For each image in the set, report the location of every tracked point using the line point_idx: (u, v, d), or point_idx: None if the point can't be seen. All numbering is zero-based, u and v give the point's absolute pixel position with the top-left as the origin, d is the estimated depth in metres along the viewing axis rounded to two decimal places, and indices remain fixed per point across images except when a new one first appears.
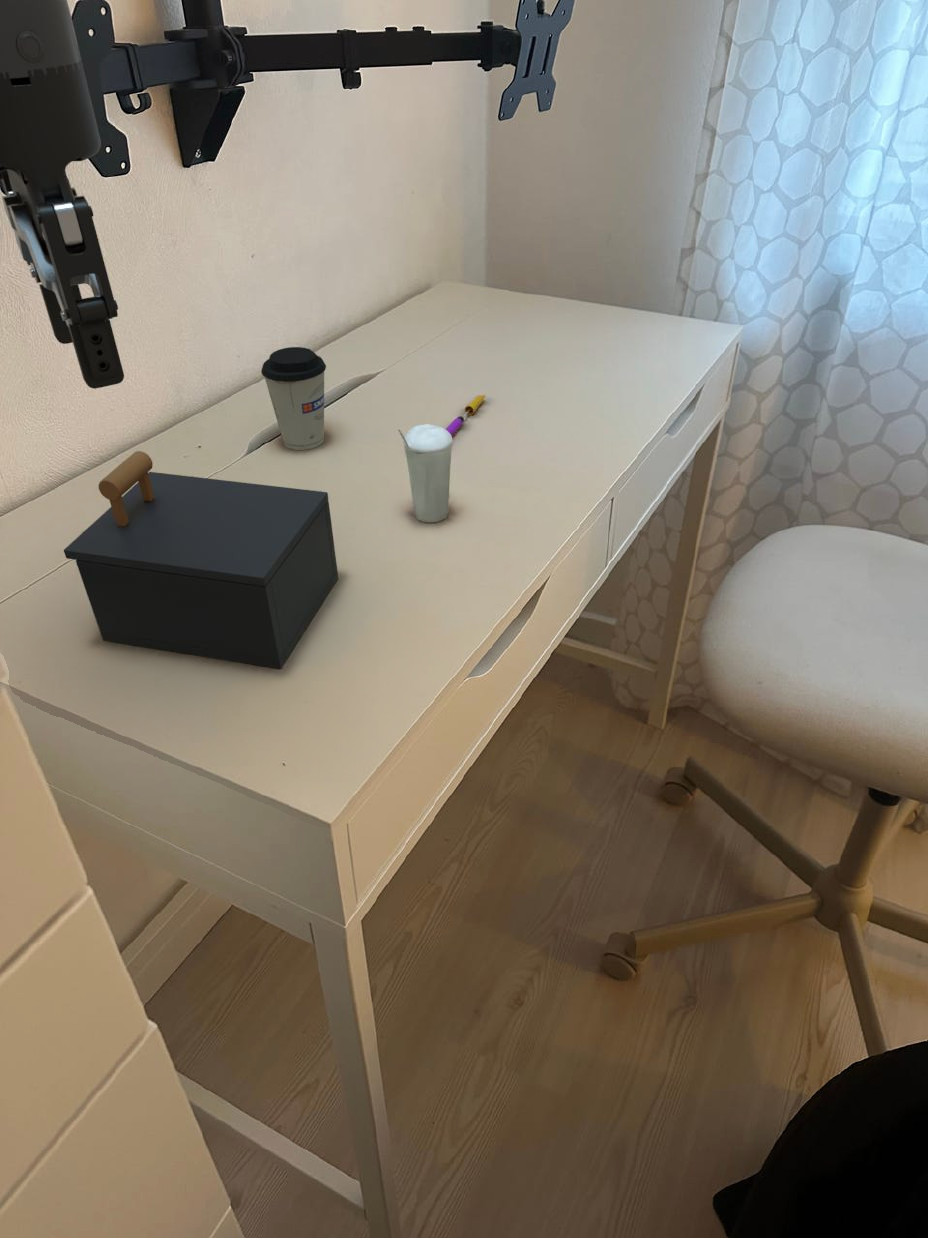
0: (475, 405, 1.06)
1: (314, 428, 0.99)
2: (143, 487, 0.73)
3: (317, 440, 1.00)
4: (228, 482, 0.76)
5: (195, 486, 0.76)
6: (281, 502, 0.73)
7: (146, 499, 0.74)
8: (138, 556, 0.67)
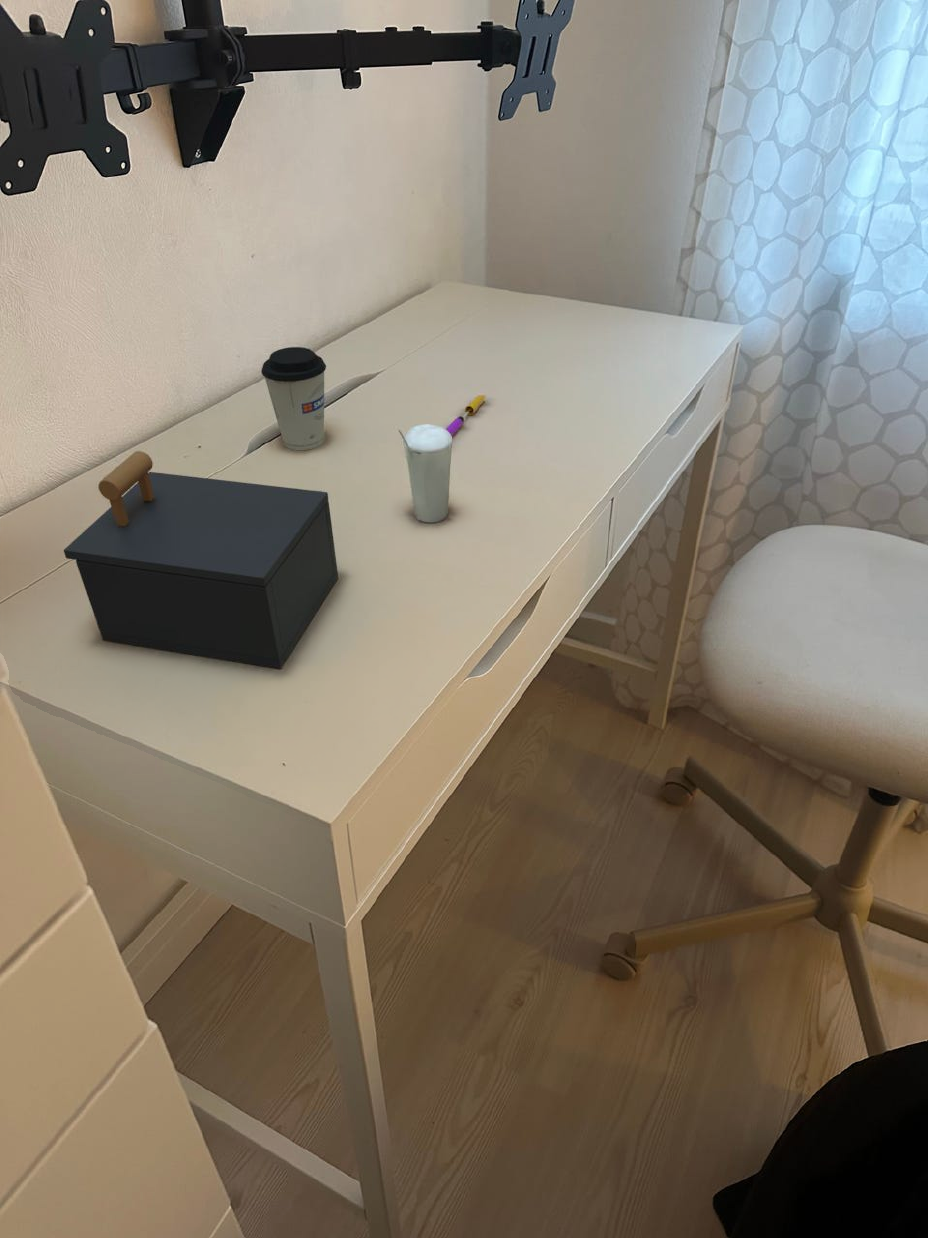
0: (475, 405, 1.06)
1: (314, 428, 0.99)
2: (143, 487, 0.73)
3: (317, 440, 1.00)
4: (228, 482, 0.76)
5: (195, 486, 0.76)
6: (281, 502, 0.73)
7: (146, 499, 0.74)
8: (138, 556, 0.67)
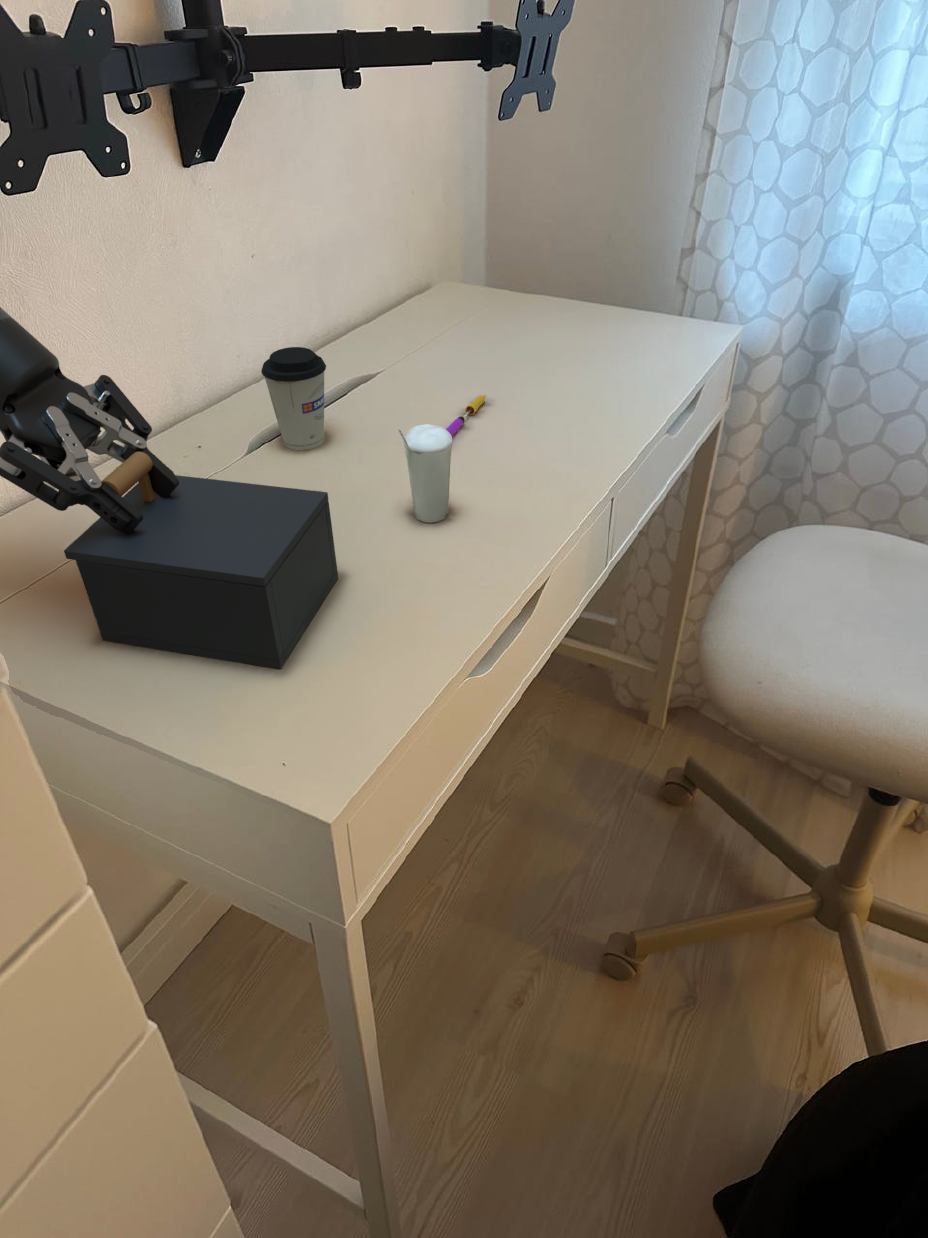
0: (476, 405, 1.06)
1: (314, 428, 0.99)
2: (143, 487, 0.73)
3: (317, 440, 1.00)
4: (228, 482, 0.76)
5: (195, 486, 0.76)
6: (281, 502, 0.73)
7: (146, 499, 0.74)
8: (138, 556, 0.67)
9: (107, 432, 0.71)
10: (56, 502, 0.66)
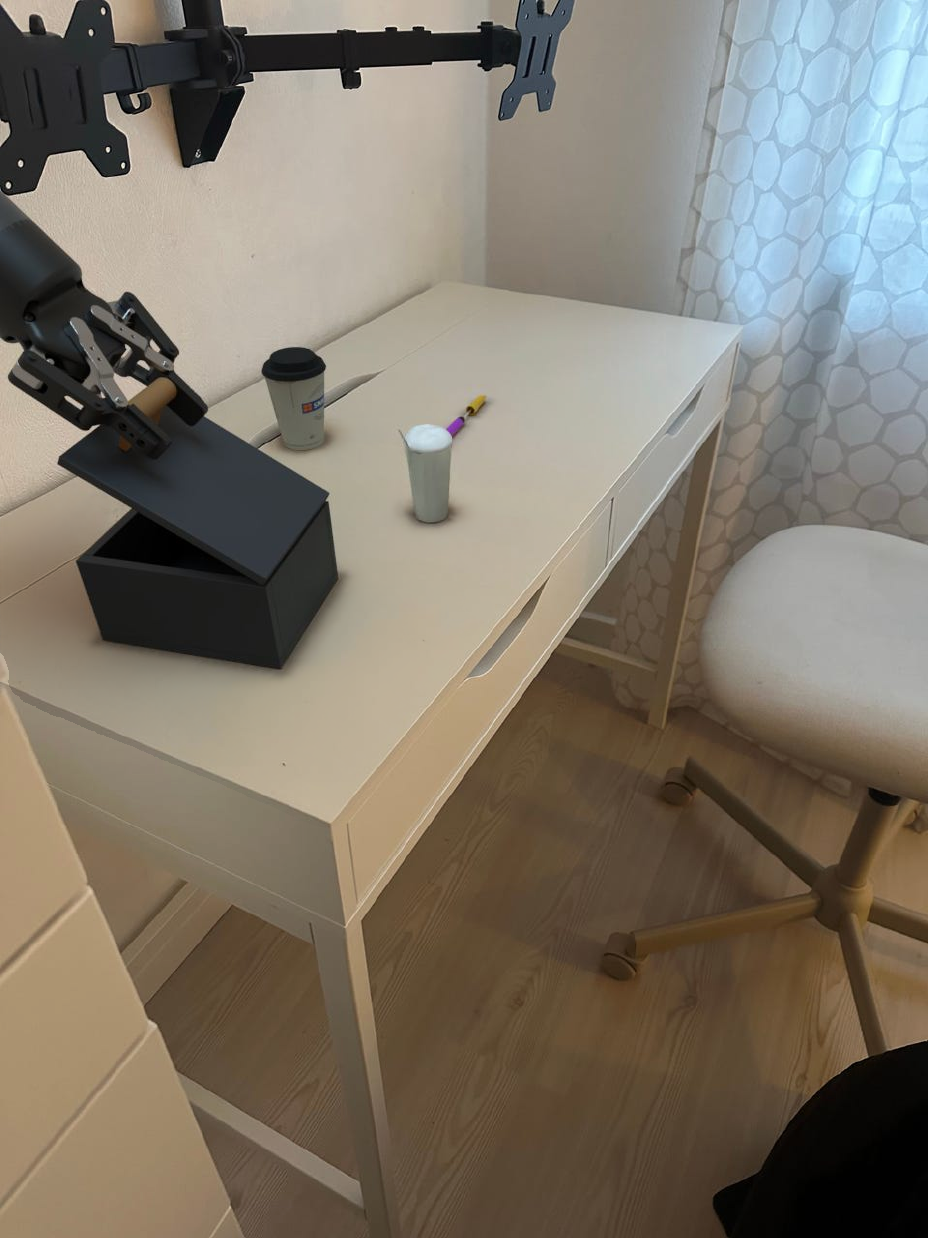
0: (476, 405, 1.06)
1: (314, 428, 0.99)
2: None
3: (317, 440, 1.00)
4: (234, 436, 0.73)
5: (200, 427, 0.72)
6: (285, 487, 0.72)
7: None
8: (141, 499, 0.64)
9: (133, 351, 0.66)
10: (79, 420, 0.61)
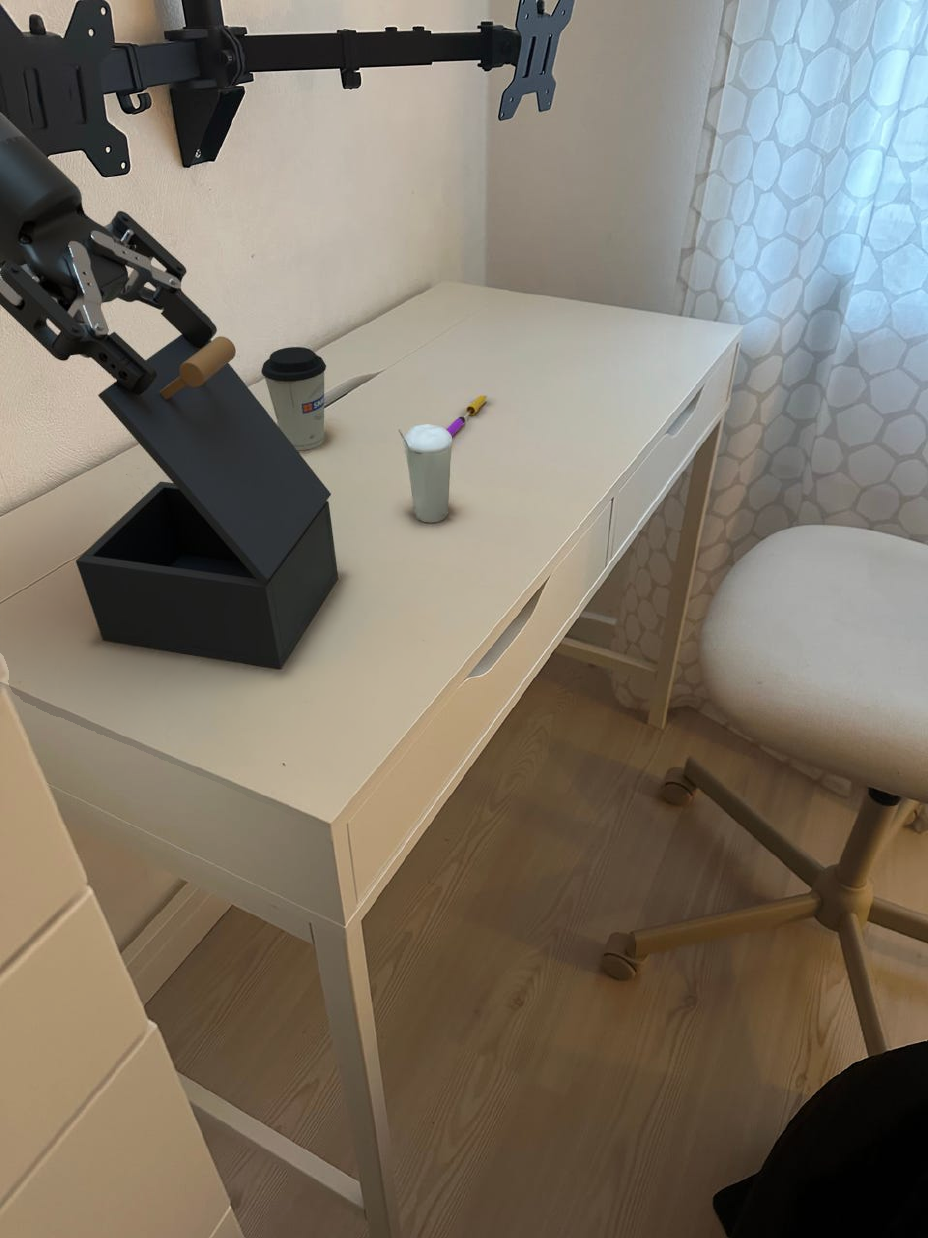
0: (477, 405, 1.06)
1: (314, 428, 0.99)
2: None
3: (317, 440, 1.00)
4: (261, 407, 0.71)
5: (233, 387, 0.69)
6: (296, 478, 0.71)
7: None
8: (172, 461, 0.61)
9: (139, 273, 0.63)
10: (54, 346, 0.56)
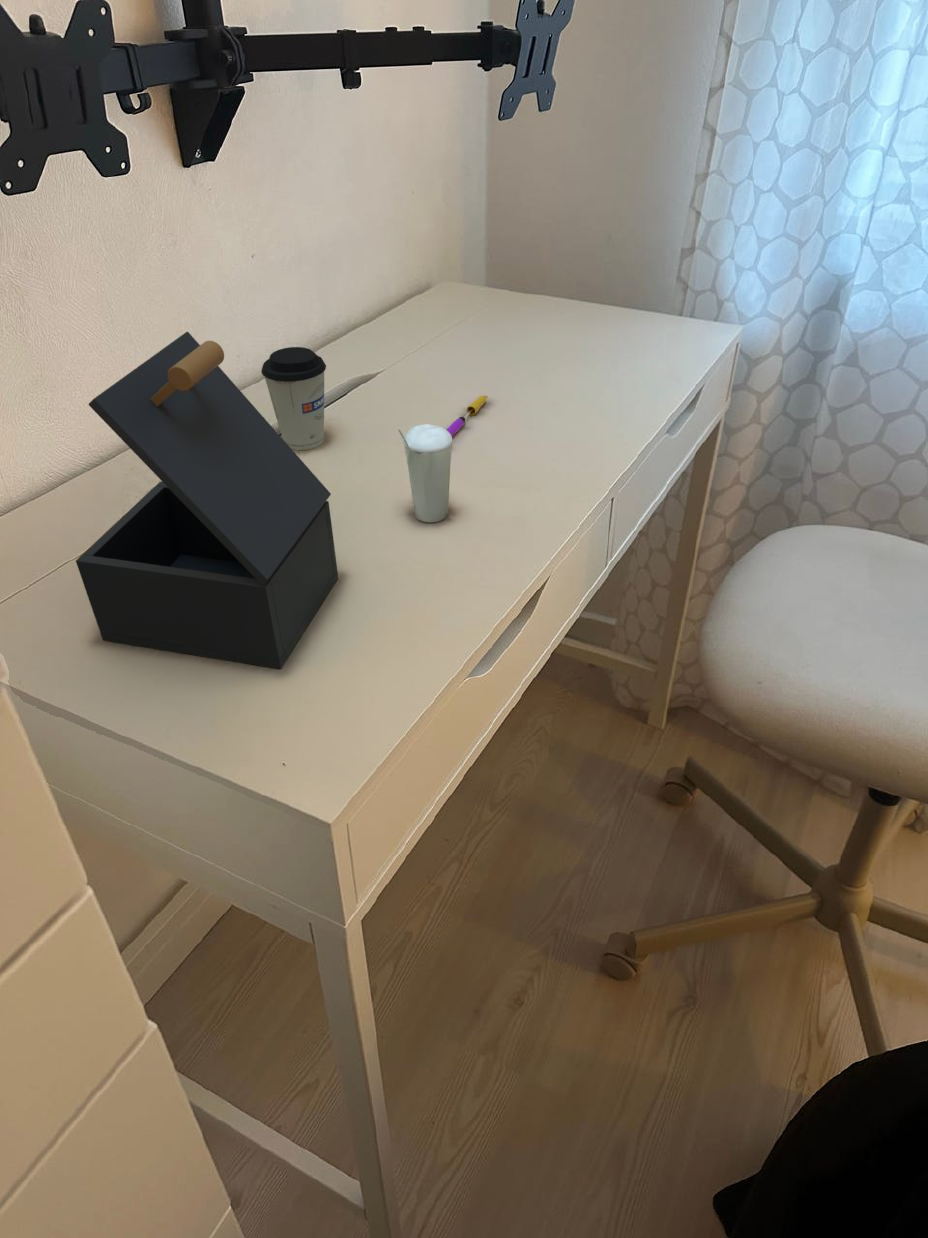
0: (477, 405, 1.06)
1: (314, 428, 0.99)
2: None
3: (317, 440, 1.00)
4: (255, 411, 0.71)
5: (226, 392, 0.69)
6: (294, 479, 0.71)
7: None
8: (166, 466, 0.61)
9: None
10: None
